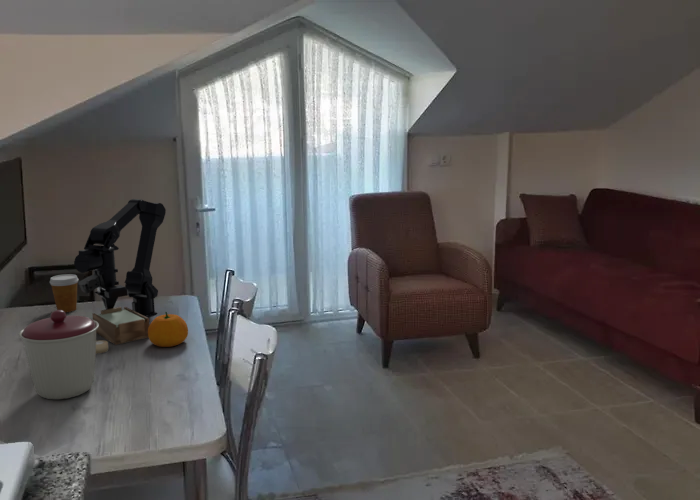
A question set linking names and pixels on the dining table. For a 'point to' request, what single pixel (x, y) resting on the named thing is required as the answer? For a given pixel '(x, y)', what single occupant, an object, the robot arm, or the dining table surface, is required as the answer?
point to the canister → (61, 354)
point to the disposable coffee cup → (65, 291)
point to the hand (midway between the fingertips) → (109, 313)
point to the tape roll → (101, 346)
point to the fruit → (167, 330)
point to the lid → (118, 316)
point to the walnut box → (122, 329)
